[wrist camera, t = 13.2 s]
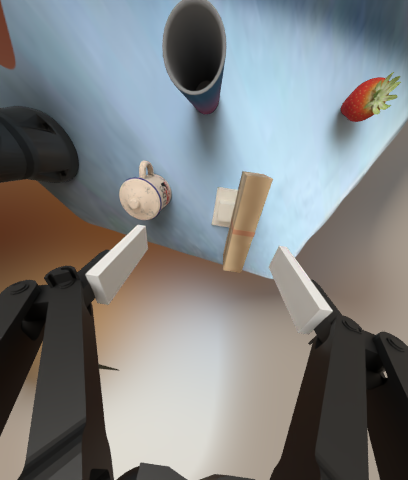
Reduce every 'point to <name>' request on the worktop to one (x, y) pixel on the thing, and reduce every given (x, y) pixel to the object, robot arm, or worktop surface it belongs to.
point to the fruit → (369, 98)
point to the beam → (245, 219)
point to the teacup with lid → (145, 193)
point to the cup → (195, 52)
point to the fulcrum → (224, 206)
